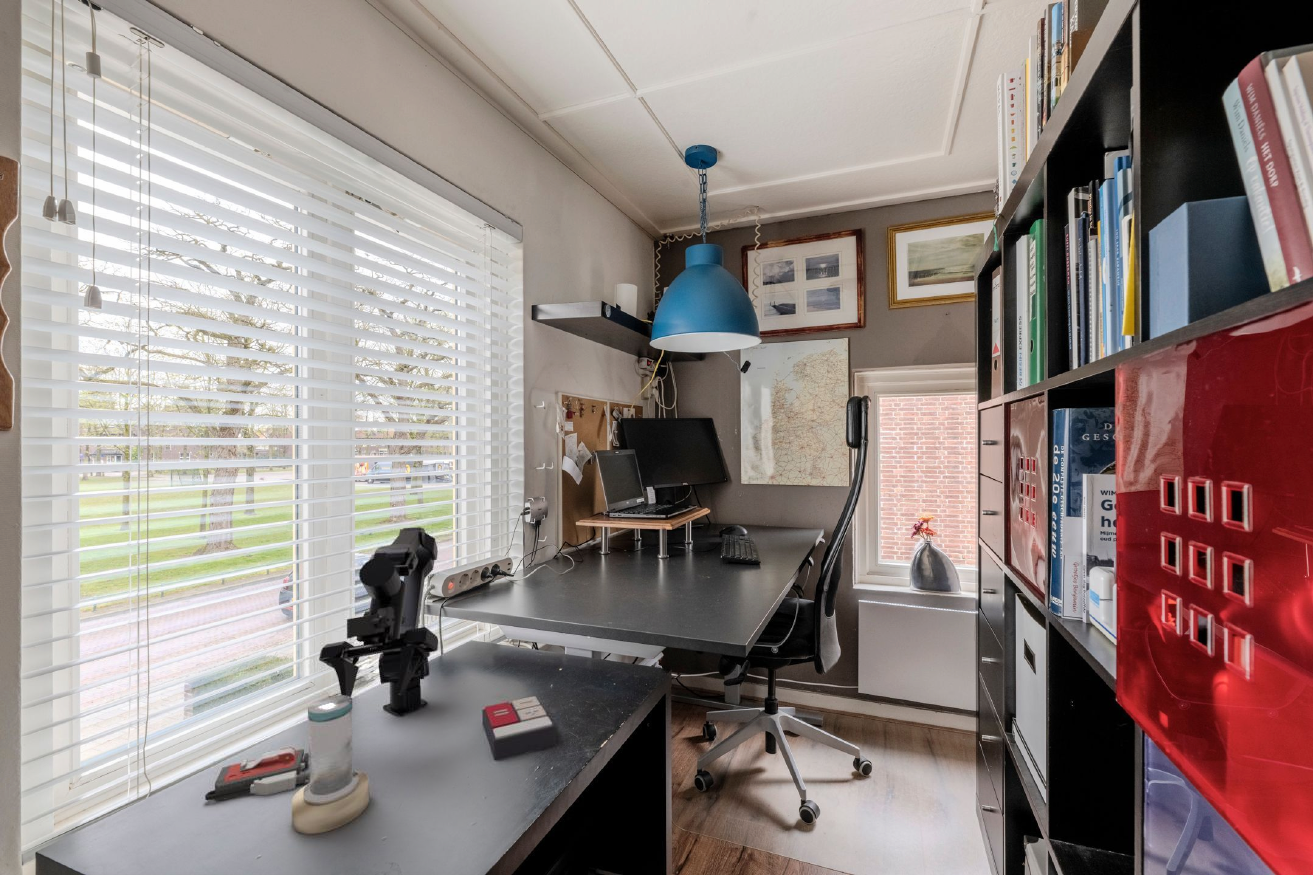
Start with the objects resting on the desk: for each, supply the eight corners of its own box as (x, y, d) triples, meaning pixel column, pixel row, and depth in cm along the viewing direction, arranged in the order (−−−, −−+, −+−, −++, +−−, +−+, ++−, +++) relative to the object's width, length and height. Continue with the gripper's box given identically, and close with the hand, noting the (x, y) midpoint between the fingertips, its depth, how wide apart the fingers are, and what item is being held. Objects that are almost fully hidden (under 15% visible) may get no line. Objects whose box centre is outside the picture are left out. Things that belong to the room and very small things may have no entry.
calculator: (536, 693, 114) (555, 721, 100) (537, 714, 114) (556, 745, 100) (481, 705, 109) (493, 736, 96) (482, 727, 109) (494, 762, 95)
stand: (279, 817, 82) (279, 796, 82) (348, 782, 90) (348, 763, 90) (311, 843, 76) (311, 821, 76) (382, 803, 84) (381, 783, 84)
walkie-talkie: (200, 815, 83) (351, 777, 92) (199, 786, 83) (350, 750, 92) (216, 784, 91) (353, 751, 100) (215, 757, 91) (353, 726, 100)
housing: (303, 786, 84) (301, 701, 84) (356, 770, 88) (355, 688, 88) (303, 812, 78) (302, 720, 78) (361, 793, 82) (359, 705, 82)
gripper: (311, 602, 96) (287, 698, 87) (417, 583, 97) (406, 676, 87) (345, 624, 105) (327, 712, 95) (442, 606, 105) (434, 693, 96)
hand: (372, 699), depth 93 cm, fingers open, 9 cm apart
